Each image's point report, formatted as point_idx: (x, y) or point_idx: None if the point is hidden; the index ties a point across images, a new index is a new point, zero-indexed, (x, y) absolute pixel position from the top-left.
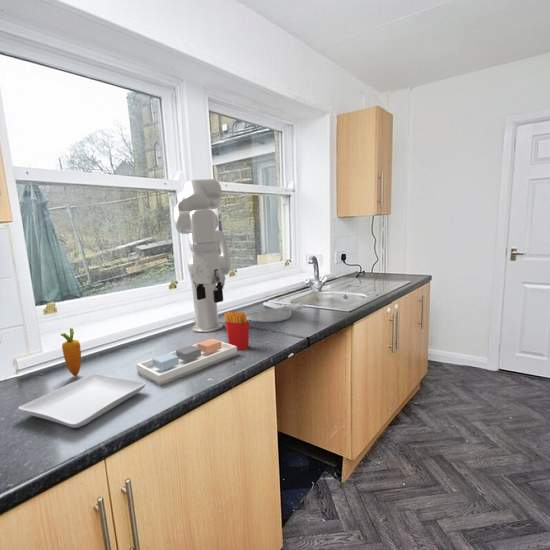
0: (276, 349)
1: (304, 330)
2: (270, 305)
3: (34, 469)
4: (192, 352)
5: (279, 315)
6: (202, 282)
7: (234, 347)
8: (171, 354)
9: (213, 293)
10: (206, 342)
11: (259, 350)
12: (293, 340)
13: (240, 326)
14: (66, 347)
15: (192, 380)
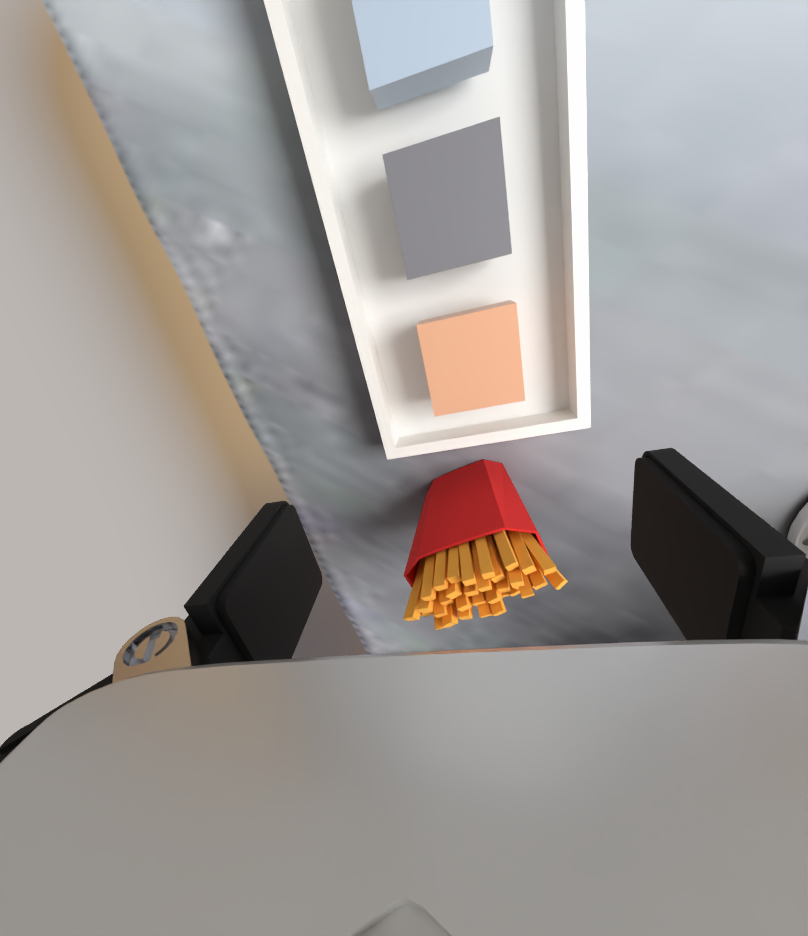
0: (345, 559)
1: None
2: None
3: None
4: (395, 215)
5: None
6: (331, 683)
7: (384, 447)
8: (444, 53)
9: (230, 569)
10: (485, 353)
11: (377, 520)
12: (383, 632)
13: (419, 546)
14: None
15: (241, 148)
